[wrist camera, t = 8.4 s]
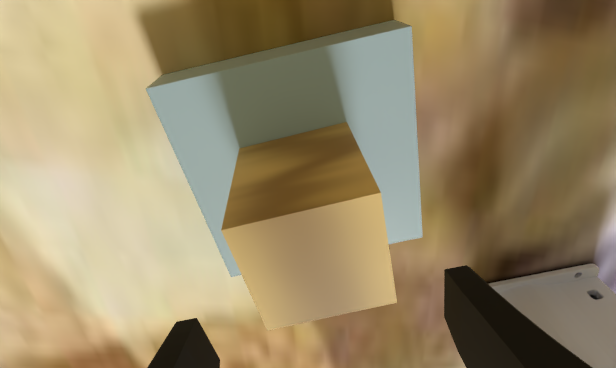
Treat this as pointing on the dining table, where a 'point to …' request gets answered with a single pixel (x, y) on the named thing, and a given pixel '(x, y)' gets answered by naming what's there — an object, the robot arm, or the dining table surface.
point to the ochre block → (308, 228)
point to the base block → (299, 115)
